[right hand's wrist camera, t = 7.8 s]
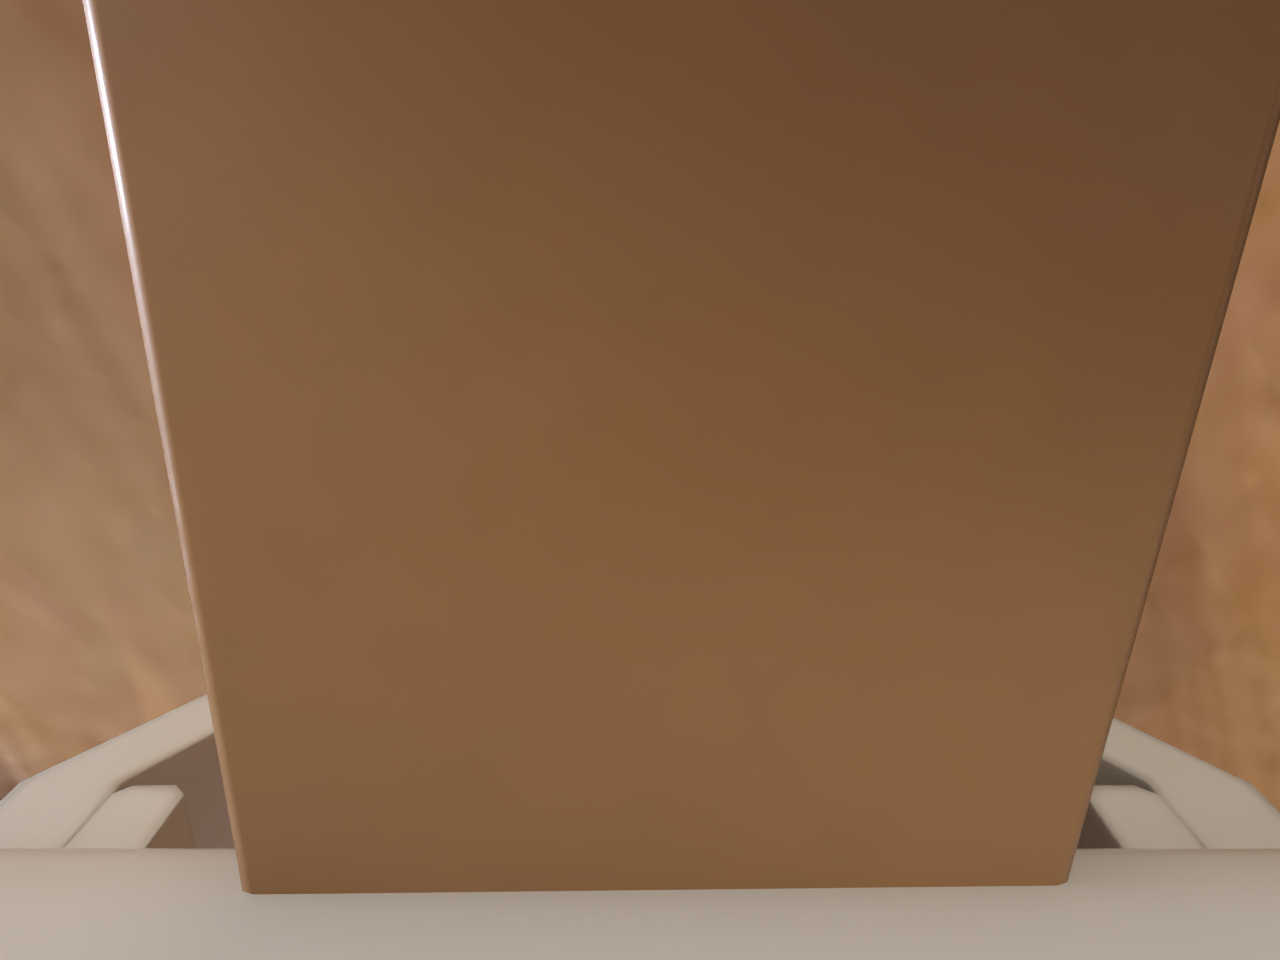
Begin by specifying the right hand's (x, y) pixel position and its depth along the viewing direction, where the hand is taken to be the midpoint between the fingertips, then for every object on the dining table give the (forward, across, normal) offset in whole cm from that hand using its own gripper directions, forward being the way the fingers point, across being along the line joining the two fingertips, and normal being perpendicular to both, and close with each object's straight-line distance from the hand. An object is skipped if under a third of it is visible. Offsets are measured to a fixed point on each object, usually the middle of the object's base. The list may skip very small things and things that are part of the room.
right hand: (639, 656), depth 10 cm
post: (+4, -1, -28) cm, 28 cm away
